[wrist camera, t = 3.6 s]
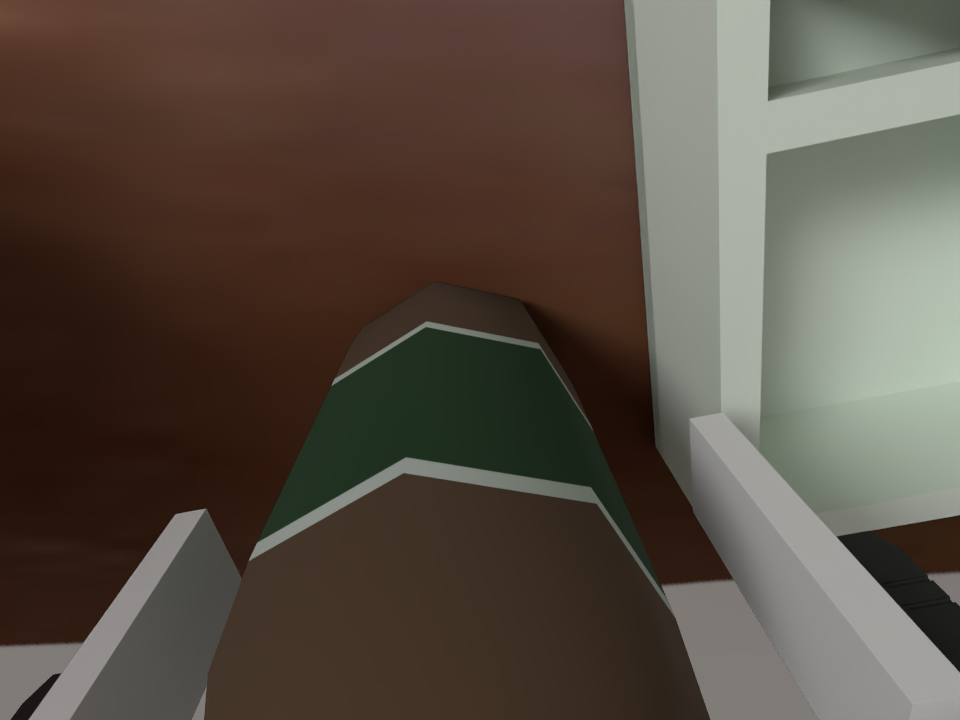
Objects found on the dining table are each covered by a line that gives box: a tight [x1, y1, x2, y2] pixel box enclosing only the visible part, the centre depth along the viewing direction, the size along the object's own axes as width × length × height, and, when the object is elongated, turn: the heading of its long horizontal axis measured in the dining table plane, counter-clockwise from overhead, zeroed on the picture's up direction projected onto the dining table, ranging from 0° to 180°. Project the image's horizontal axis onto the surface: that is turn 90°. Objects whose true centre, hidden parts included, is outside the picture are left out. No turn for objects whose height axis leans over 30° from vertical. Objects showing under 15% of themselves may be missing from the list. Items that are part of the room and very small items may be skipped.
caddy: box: [624, 0, 960, 536], centre depth 13 cm, size 12×23×6 cm, turn 11°
